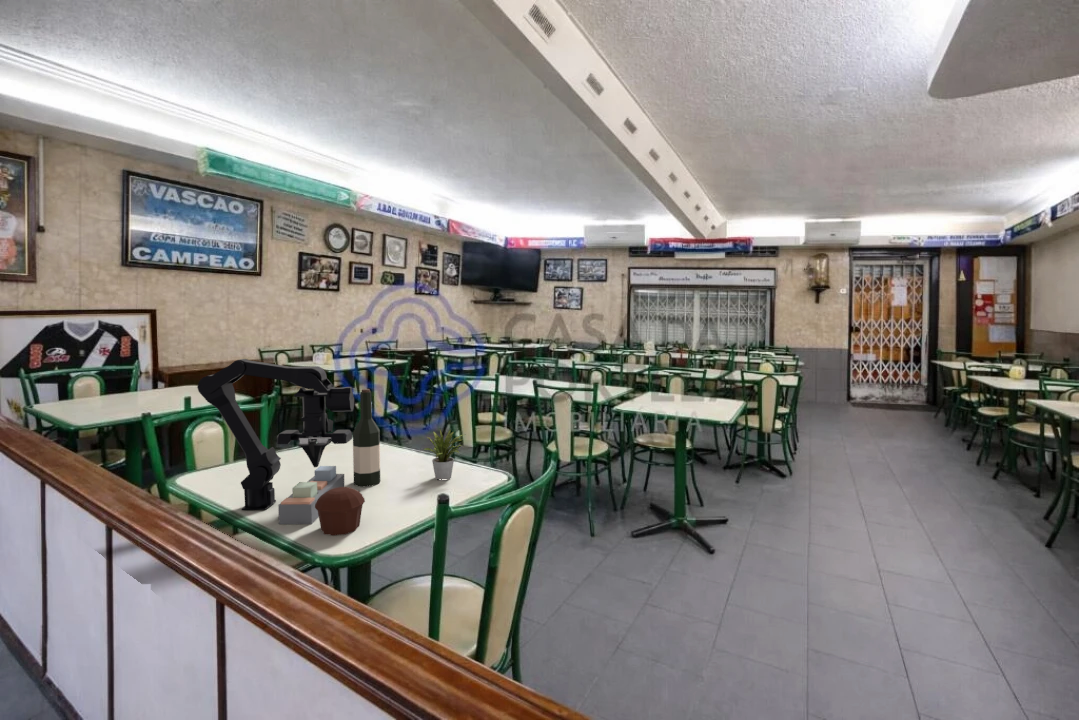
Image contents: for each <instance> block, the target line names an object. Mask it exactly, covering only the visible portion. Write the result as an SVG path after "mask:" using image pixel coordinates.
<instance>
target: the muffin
mask: <svg viewBox="0 0 1079 720" xmlns="http://www.w3.org/2000/svg"><path fill="white" fill-rule="evenodd" d="M365 502H366V501H365V497H364V496H363V494H362V493H361V492H360V491H359V490H358V489H355V488H352V487H349V486H345V487H338V488H333V489H330V490H329V491H327V492H325V493H324V494H323V495H321V496H320V497H319V499H318V500H317V502H316V504H315V508H316V510H318V515H319V517H318V519H319V525H320V531H321V530H322V531H321V532H323V535H326V536H327V535H329V536H333V537H334V536H341V535H343V536H344V535H347V534H349V533H352V532H355V531H356V530H357V529H358V528H359V527H360V523H361V517H362V511H363V505H364V503H365Z"/></svg>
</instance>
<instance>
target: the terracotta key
mask: <svg viewBox="0 0 1079 720" xmlns="http://www.w3.org/2000/svg"><path fill="white" fill-rule="evenodd" d="M310 482H317V490H322V489H323V488H324V487H325V486H327V481H310Z"/></svg>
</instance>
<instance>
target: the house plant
mask: <svg viewBox="0 0 1079 720" xmlns="http://www.w3.org/2000/svg"><path fill="white" fill-rule="evenodd" d="M453 434H454V431H452V432H451V429H449V430H448V433H447V434H446V436H445V438H444V434H443V433H442V430H441V429H439V435H440V436H439V435H438V434H437V433H436V432H435V431H433V436H434V437H433V438H432V439H433V440H432V439H431V437H428V436H427V435H426V438H427V439H428V440H429V441H430V442H431V443H432V444H433V446H434V447H433V448H429V447H426V448H424V449H423V450H425V451H430V452H433V453H434V455H435V458H432V459H431V461H432V466H433V468H432V469H433V471H434V478H436V479H441V480H442V479H449V480H450V478H451V479H452V476H453V475H452V474H453V468H454V461H455V459H454V457H451V456H452V455H453V454H454V453H455V452H456V453H458V454H460V451H459V450H460V448H459V447H460V446H461V447H462V444H459V445H456V446H454V444H455V443H457V442H460V441H461V439H463V437H462V436H465V435H466V434H465V433H464V434H461V435H459V436H456V437H455V438H453ZM436 479H435V480H436ZM441 480H440V481H441Z"/></svg>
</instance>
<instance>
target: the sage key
mask: <svg viewBox="0 0 1079 720" xmlns="http://www.w3.org/2000/svg"><path fill="white" fill-rule="evenodd" d="M292 494H293V498H313V497H314V496H316V495H317V482H307V481H300V482H298V483H297V484H295V485H294V486H292Z"/></svg>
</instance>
